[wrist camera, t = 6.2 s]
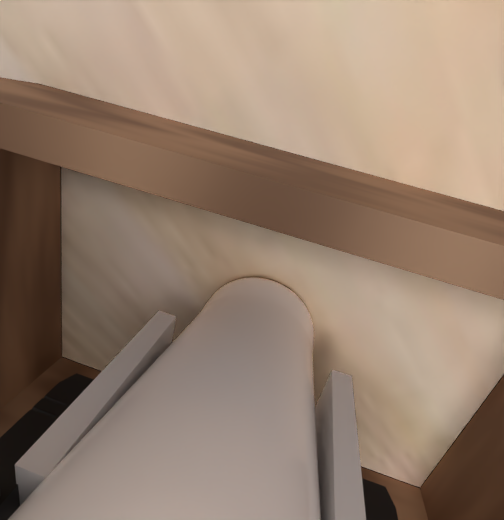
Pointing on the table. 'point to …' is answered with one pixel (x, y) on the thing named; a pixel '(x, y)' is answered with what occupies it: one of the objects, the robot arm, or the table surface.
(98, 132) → the walnut open box frame
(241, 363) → the drinking glass
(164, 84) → the table surface
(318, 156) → the table surface
